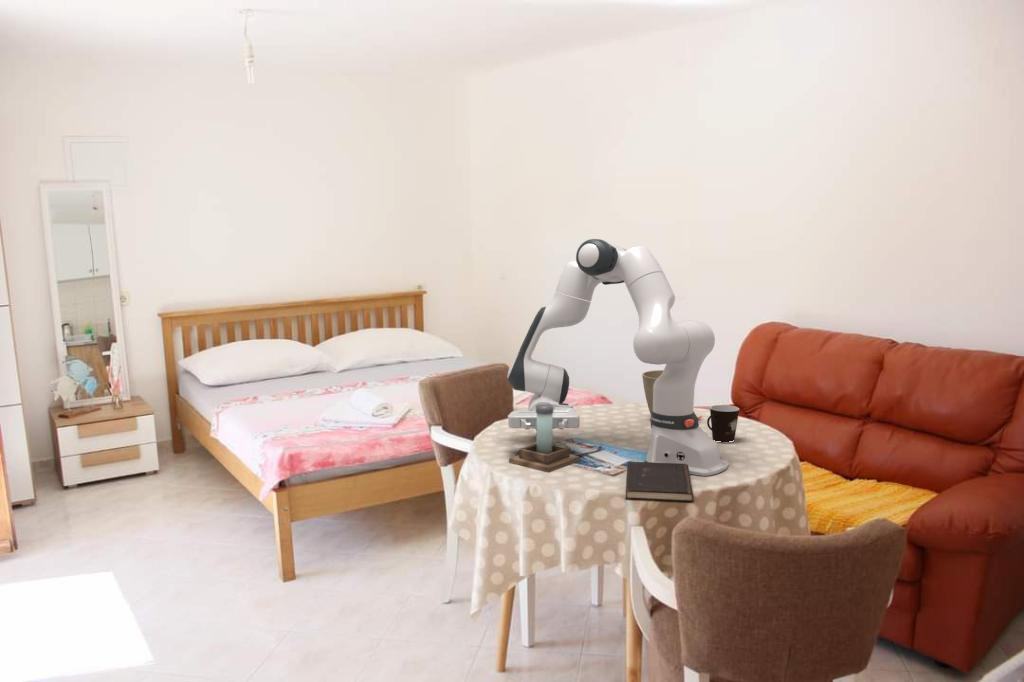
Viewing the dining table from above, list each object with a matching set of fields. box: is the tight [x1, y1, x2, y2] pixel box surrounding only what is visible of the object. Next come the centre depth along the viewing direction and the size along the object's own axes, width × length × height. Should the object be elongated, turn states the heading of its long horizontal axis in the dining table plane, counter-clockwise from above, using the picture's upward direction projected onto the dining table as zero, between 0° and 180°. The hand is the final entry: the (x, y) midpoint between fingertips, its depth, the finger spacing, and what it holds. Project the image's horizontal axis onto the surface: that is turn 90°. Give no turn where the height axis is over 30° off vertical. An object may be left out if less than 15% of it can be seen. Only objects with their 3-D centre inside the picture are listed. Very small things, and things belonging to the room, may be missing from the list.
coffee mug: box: [706, 404, 740, 442], centre depth 256 cm, size 12×9×10 cm
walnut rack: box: [508, 443, 581, 473], centre depth 236 cm, size 14×14×4 cm
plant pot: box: [641, 369, 664, 415], centre depth 279 cm, size 15×15×16 cm
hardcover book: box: [625, 461, 694, 503], centre depth 214 cm, size 16×23×2 cm
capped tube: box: [536, 404, 553, 454], centre depth 235 cm, size 5×5×15 cm
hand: (544, 426), depth 233 cm, fingers open, 8 cm apart
